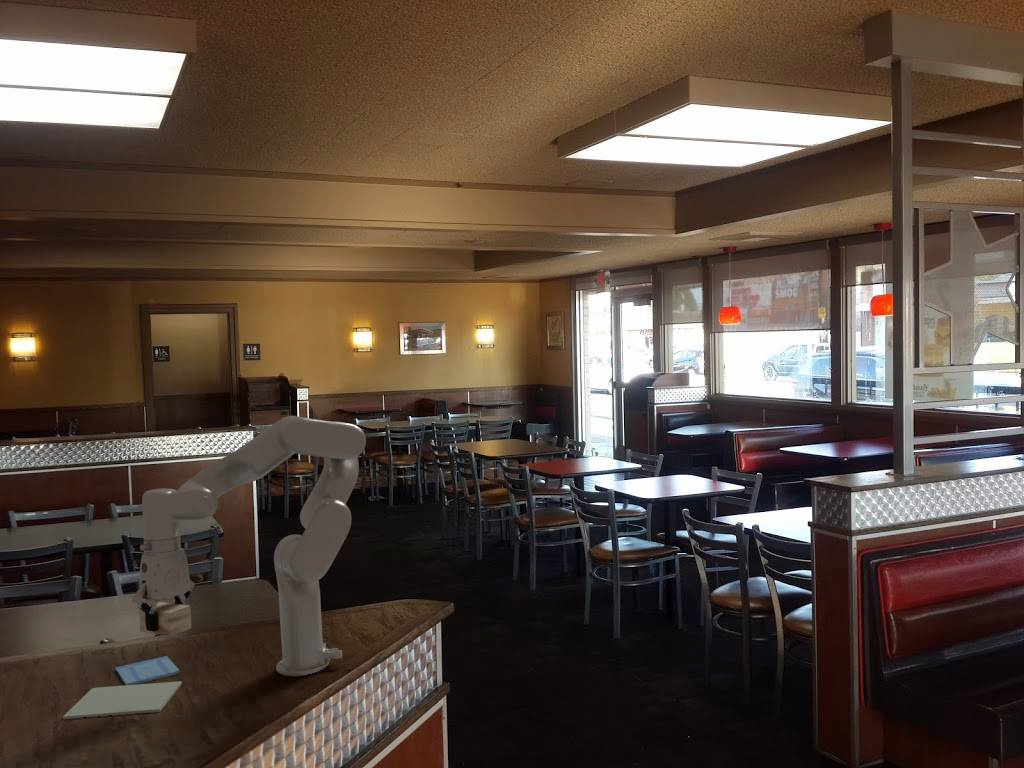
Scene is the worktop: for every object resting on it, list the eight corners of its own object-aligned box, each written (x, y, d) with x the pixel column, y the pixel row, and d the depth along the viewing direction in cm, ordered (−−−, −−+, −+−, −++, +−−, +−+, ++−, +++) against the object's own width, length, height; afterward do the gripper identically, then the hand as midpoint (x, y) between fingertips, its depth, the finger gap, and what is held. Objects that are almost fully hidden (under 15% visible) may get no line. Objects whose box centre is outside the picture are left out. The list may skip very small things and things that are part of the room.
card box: (191, 628, 200) (190, 605, 199) (170, 636, 194) (169, 613, 194) (161, 623, 204) (160, 602, 203) (140, 631, 198) (139, 609, 198)
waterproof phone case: (180, 675, 215) (180, 670, 215) (126, 688, 208) (126, 683, 208) (167, 660, 226) (166, 655, 226) (115, 672, 219) (115, 667, 219)
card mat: (181, 683, 208) (181, 681, 208) (160, 711, 192) (159, 709, 192) (92, 690, 207) (92, 687, 206) (63, 719, 191) (62, 716, 191)
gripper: (139, 555, 189) (142, 639, 190) (205, 539, 204) (208, 618, 204) (116, 551, 193) (120, 635, 193) (183, 536, 208) (186, 614, 208)
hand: (165, 625), depth 199 cm, fingers closed on card box, 6 cm apart
